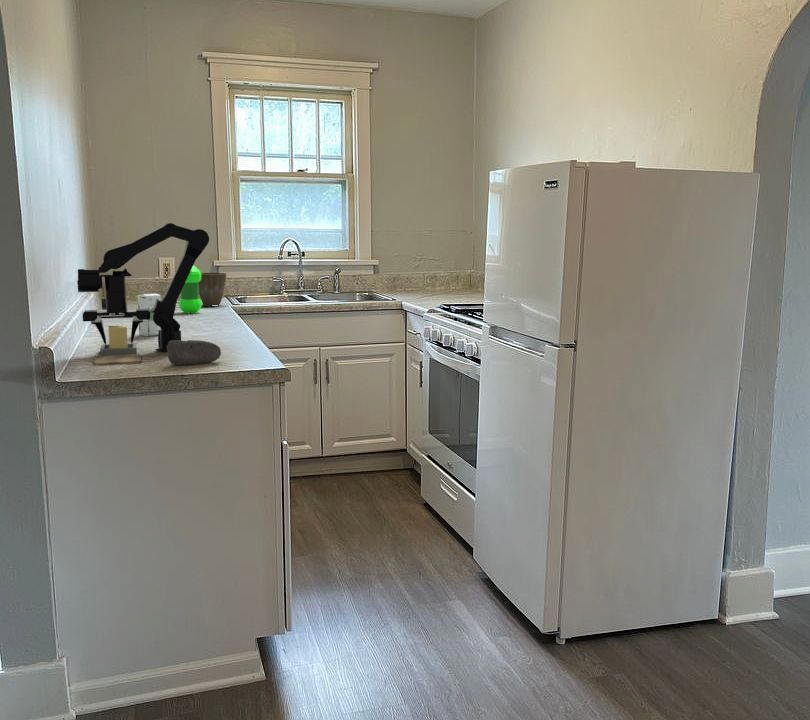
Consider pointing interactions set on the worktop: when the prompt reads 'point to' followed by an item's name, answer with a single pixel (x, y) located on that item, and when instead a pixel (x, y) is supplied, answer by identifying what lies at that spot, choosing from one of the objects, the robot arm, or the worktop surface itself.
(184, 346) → the perforated stone tool
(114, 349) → the hinged window frame
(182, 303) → the plastic bottle
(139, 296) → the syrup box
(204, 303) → the plant pot
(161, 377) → the worktop surface
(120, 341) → the block
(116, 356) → the walnut board
